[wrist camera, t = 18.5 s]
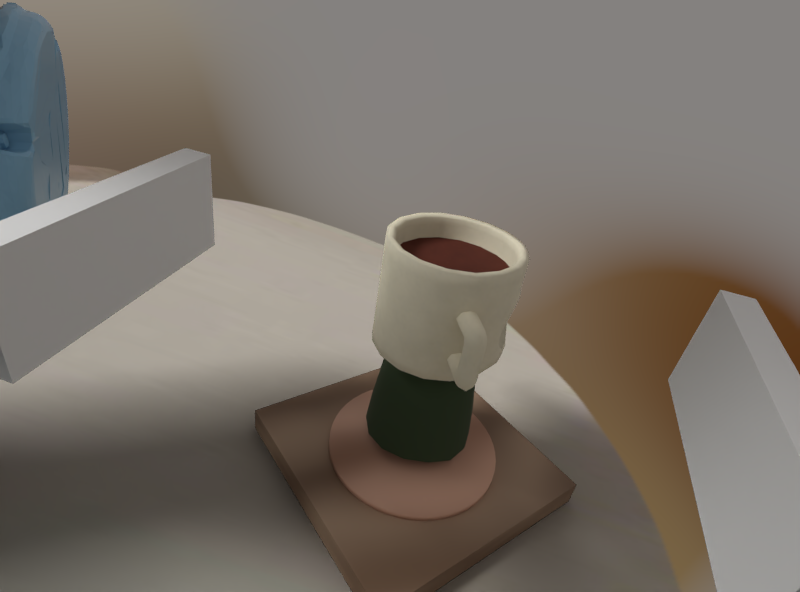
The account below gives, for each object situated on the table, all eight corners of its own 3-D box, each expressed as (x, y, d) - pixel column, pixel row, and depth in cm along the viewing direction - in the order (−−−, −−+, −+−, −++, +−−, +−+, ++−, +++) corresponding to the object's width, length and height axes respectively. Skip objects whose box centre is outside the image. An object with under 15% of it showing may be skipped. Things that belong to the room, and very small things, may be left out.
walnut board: (255, 427, 33) (255, 405, 32) (427, 366, 40) (431, 346, 39) (375, 631, 23) (380, 609, 22) (568, 501, 31) (578, 480, 30)
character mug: (498, 505, 28) (574, 303, 21) (368, 512, 26) (405, 298, 20) (449, 373, 37) (492, 202, 30) (350, 372, 36) (372, 193, 29)
